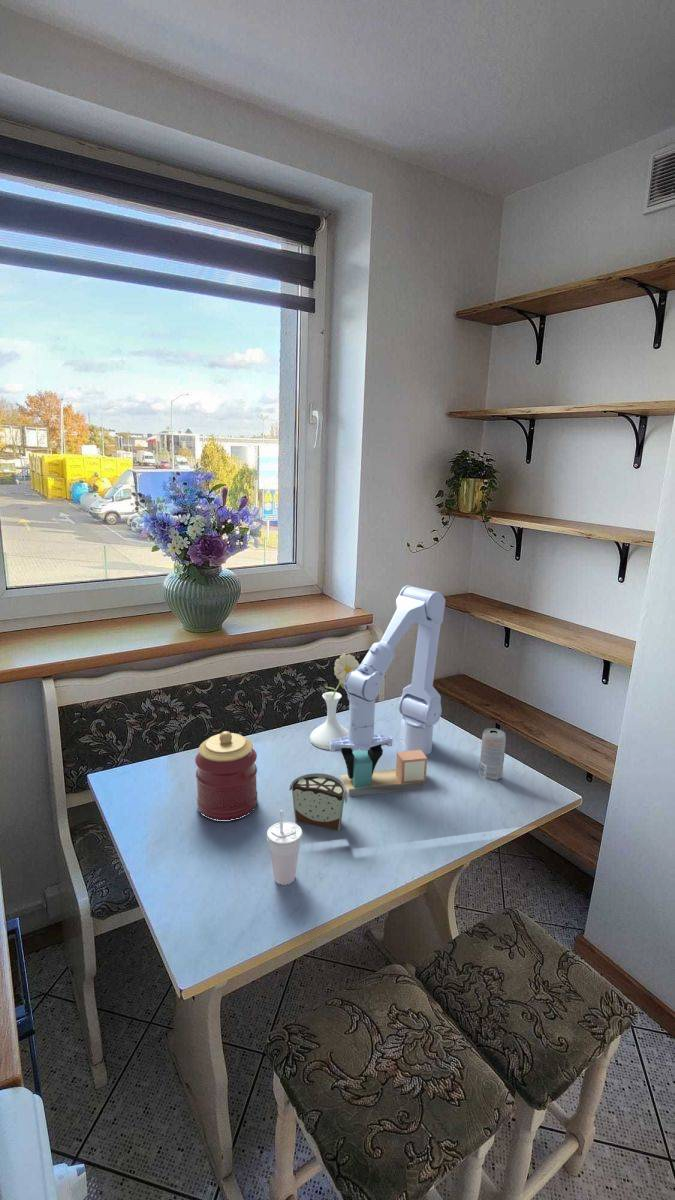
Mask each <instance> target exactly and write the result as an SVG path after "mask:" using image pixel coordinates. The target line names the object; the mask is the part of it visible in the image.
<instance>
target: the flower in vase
mask: <svg viewBox="0 0 675 1200" xmlns="http://www.w3.org/2000/svg"><path fill="white" fill-rule="evenodd" d="M359 666H360V663H359V661H358V660H357V659H356V657H355V656H354V655H352V654H350V653H348V654H345V653H343V654H342V655H340V656H339V658H337V659H336V660H335V662H334V667H333V669H334V673H333V674H334V676H336V679H337V680H338V685H337V686H336V688H335V687H330V686H327V685H326V684H323V686H324V688H325V689H330V690H333V691H328V692H324V693H323V694H322V698H323V700H324V701H325V703H326V709H327V712H326V713H327V717H326V721H324V723H322V724H321V725H318V727H316V728H314V730H312V731H311V733H310V735H309V741H310V743H311V744H312V745H313V746H315V747H316V748H318V749H321V750H322V749H323V750H326V751H330V749H329V740H335V739H339V738H342V737H346V736H349V729H348V728H346V727H345V726H343V725H342V724H340V723H339V722H338V719H337V708H338V703H339V701H340V700H341V698H342V694H341V693H340V692H337V691H338V689H339V687H341V688H342V689H344V690H345V688H344V683H346V678H347V676H348V675H349V673H350V672H352V671H354V670H357V669H358V667H359Z"/></svg>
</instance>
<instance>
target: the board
mask: <svg viewBox="0 0 675 1200" xmlns="http://www.w3.org/2000/svg"><path fill="white" fill-rule="evenodd" d="M340 777H341V781H342V782H343V783H344V786H345V788H346V791H347V796H348V797H354V796H356V797H357V796H364V795H365V796H366V795H372V794H373V795H374V794H382V793H391V792H392V793H393V792H399V791H407V790H408V791H409V790H416V789H417V790H418V789H422V787H423V786H422V785H423V784H422V783H423V782H421V781H420V782H411V783H402V784H401V783H400V781H399V779H398V778H397V776H396V768H394V769H386V770H385V769H384V770H374V771H373V775H372V786H367V787H358V788H354V785H353V783H352V781H351V779H350V778H349V776H348V773H345V774H340Z"/></svg>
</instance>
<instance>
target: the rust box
mask: <svg viewBox="0 0 675 1200" xmlns="http://www.w3.org/2000/svg"><path fill="white" fill-rule="evenodd" d="M395 764H396V767H395V769H396V776H397V778H398V779H399V781H400V783H401V784H402V783H411V782H420V781H421V782H422V783H423V782H426V781H427V769H428V768H427V765H428V757H427V755H425V754H424V753H423V752H422V750H413V751H404V750H403V751H397V752H396V762H395Z"/></svg>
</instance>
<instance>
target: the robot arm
mask: <svg viewBox="0 0 675 1200" xmlns="http://www.w3.org/2000/svg"><path fill="white" fill-rule="evenodd" d="M446 601H447V600H446V599H445V597H444V596H443V594H442V593H441V592H439V591H433V590H430V589H424V588H420V587H416V586H412V585H410V584H407V585H405V586H403V587H402V588H401V590H400V592H399V593H398V596H397V598H396V600H395V605H396V610H395V611H394V614H393V616H392V618H391V620H390V622H389V624H388V625H387V628H386V630H385V632H384V634H383V635H382V638H381V639H380V640H379V641H377V642H373V644H372V645H371V646H370V648H369V649H368V651H367V653H366V655H365V656H364V658H363V659H362V661H361V663H359V665H360V666H359V667H358V669H357V670H354V671H352V672H350V673H349V675H348V676H347V678H346V683H344V688H345V689H344V688H343V689H344V690H345V692H346V693H347V700H348V701H349V708H348V709H349V711H348V716H349V717H348V718H349V719H348V731H349V736H346V737H342V738H339V739H335V740H329V749H330V750H329V751H330V752H331V753H333V752H336V751H337V750H338V751H340V752H341V755H342V756H343V759H344V761H345V765H346V771H347V774H348V776H349V778H350V779H352V778H353V761H354V755H353V751H354V750H353V749H355V750H356V749H358V750H362V751H365V750H366V752H367V754H368V755H369V757H370V759H371V761H372V775H373V771H375V768H376V765H377V763H378V762H379V760H380V758H382V756H383V752H384V750H383V748H382V746H386V747H392V746H393V737H392V736H391V734H375V733H374V732H375V715H376V714H375V708H376V699H377V697H379V694H381V690H382V687H383V682H384V680H385V679H384V675H385V673H386V672H387V670H388V669H389V667H390V666H391V664H392V662H393V661H394V659H395V651H394V649H395V647H396V646H397V645H398V644H399V643H400V640H401V639H402V638H403V637H404V635H405V633H406V632H407V631H408V630H409V628H410V627H411V626H412V624H416V623H418V628H417V638H416V644H415V645H416V646H415V653H414V660H413V669H412V677H411V683H410V684H408V685H406V686H405V687H403V689H402V694H401V696H400V698H399V700H398V701H399V702H398V712H399V714H401V715H402V719H401V721H400V732H399V733H400V735H399V741H400V743H401V744H402V747H403V751H413V750H422V752H423V753H424V754H425V756H428V755H430V754H431V753H432V749H433V735H434V734H433V733H434V726H435V725H436V724H437V723H438V722H439V720H440V718H441V715H442V710H443V709H442V704H441V700H442V696H441V694H440V693H439V692H438V691H437V689H436V688H435V687H434V680H435V679H434V678H435V671H436V664H437V655H438V647H439V639H440V632H441V626H442V624H443V621H444V614H445V608H446Z"/></svg>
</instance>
